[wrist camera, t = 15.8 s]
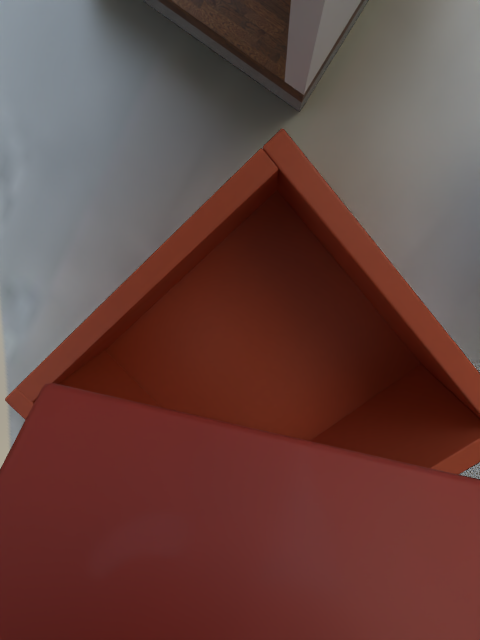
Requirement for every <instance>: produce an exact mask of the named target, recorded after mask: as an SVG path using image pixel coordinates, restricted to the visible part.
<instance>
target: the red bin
mask: <svg viewBox="0 0 480 640" xmlns="http://www.w3.org/2000/svg"><path fill="white" fill-rule="evenodd" d="M50 383H56V384H60V385H65V386H69V387H73V388H78V389H82V390H87V391H91V392H96V393H100V394H104V395H109V396H113V397H118V398H122V399H126V400H131V401H135V402H140V403H144V404H149V405H153V406H157V407H162V408H166V409H171V410H175V411H179V412H184V413H188V414H193V415H197V416H202V417H206V418H210V419H215V420H219V421H224V422H228V423H232V424H237V425H241V426H246V427H250V428H254V429H259V430H263V431H268V432H272V433H277V434H281V435H285V436H290V437H294V438H299V439H303V440H307V441H312V442H316V443H321V444H325V445H330V446H334V447H338V448H343V449H347V450H352V451H356V452H360V453H365V454H369V455H374V456H378V457H382V458H387V459H391V460H396V461H400V462H405V463H409V464H413V465H418V466H422V467H427V468H431V469H435V470H440V471H444V472H449V473H453V474H458V475H459V474H460V473H462V472H464V471H465V470H467V469H469V468H470V467H472V466H474V465H475V464H477V463H479V462H480V373H479V372H478V371H477V369H476V368H475V367H474V366H473V364H472V363H471V362H470V361H469V359H468V358H467V357H466V356H465V354H464V353H463V352H462V351H461V349H460V348H459V347H458V346H457V344H456V343H455V342H454V341H453V339H452V338H451V337H450V336H449V335H448V333H447V332H446V331H445V330H444V328H443V327H442V326H441V325H440V323H439V322H438V321H437V320H436V318H435V317H434V316H433V315H432V313H431V312H430V311H429V310H428V308H427V307H426V306H425V305H424V303H423V302H422V301H421V300H420V298H419V297H418V296H417V295H416V293H415V292H414V291H413V290H412V288H411V287H410V286H409V285H408V283H407V282H406V281H405V280H404V278H403V277H402V276H401V275H400V273H399V272H398V271H397V270H396V268H395V267H394V266H393V265H392V263H391V262H390V261H389V260H388V258H387V257H386V256H385V255H384V253H383V252H382V251H381V250H380V248H379V247H378V246H377V245H376V243H375V242H374V241H373V240H372V238H371V237H370V236H369V235H368V233H367V232H366V231H365V230H364V228H363V227H362V226H361V225H360V223H359V222H358V221H357V220H356V218H355V217H354V216H353V215H352V213H351V212H350V211H349V210H348V208H347V207H346V206H345V205H344V203H343V202H342V201H341V200H340V198H339V197H338V196H337V195H336V193H335V192H334V191H333V190H332V188H331V187H330V186H329V185H328V183H327V182H326V181H325V180H324V178H323V177H322V176H321V175H320V173H319V172H318V171H317V170H316V168H315V167H314V166H313V165H312V163H311V162H310V161H309V160H308V158H307V157H306V156H305V155H304V153H303V152H302V151H301V150H300V148H299V147H298V146H297V145H296V143H295V142H294V141H293V140H292V138H291V137H290V136H289V135H288V133H287V132H286V131H285V130H284V129H280V130H279V131H278V132H277V133H276V134H275V135H274V136H273V137H272V138H271V139H270V140H269V141H268V142H267V143H266V144H265V145H264V146H263V149H262V148H261V149H259V150H258V151H257V152H256V153H255V154H254V155H253V156H252V157H251V158H250V159H249V160H248V161H247V162H246V163H245V164H244V165H243V166H242V167H241V168H240V169H239V170H238V171H237V172H236V173H235V174H234V175H233V176H232V177H231V178H230V179H229V180H228V181H227V182H226V183H225V184H224V185H223V186H222V187H221V188H220V189H219V190H218V191H217V192H216V193H215V194H213V195H212V196H211V197H210V198H209V199H208V200H207V201H206V202H205V203H204V204H203V205H202V206H201V207H200V208H199V209H198V210H197V211H196V212H195V213H194V214H193V215H192V216H191V217H190V218H189V219H188V220H187V221H186V222H185V223H184V224H183V225H182V226H181V227H180V228H179V229H178V230H177V231H176V232H175V233H174V234H173V235H172V236H171V237H170V238H169V239H167V240H166V241H165V242H164V243H163V244H162V245H161V246H160V247H159V248H158V249H157V250H156V251H155V252H154V253H153V254H152V255H151V256H150V257H149V258H148V259H147V260H146V261H145V262H144V263H143V264H142V265H141V266H140V267H139V268H138V269H137V270H136V271H135V272H134V273H133V274H132V275H131V276H130V277H129V278H128V279H127V280H126V281H125V282H124V283H122V284H121V285H120V286H119V287H118V288H117V289H116V290H115V291H114V292H113V293H112V294H111V295H110V296H109V297H108V298H107V299H106V300H105V301H104V302H103V303H102V304H101V305H100V306H99V307H98V308H97V309H96V310H95V311H94V312H93V313H92V314H91V315H90V316H89V317H88V318H87V319H86V320H85V321H84V322H83V323H82V324H81V325H80V326H79V327H78V328H76V329H75V330H74V331H73V332H72V333H71V334H70V335H69V336H68V337H67V338H66V339H65V340H64V341H63V342H62V343H61V344H60V345H59V346H58V347H57V348H56V349H55V350H54V351H53V352H52V353H51V354H50V355H49V356H48V357H47V358H46V359H45V360H44V361H43V362H42V363H41V364H40V365H39V366H38V367H37V368H36V369H35V370H34V371H33V372H32V373H30V374H29V375H28V376H27V377H26V378H25V379H24V380H23V381H22V382H21V383H20V384H19V385H18V386H17V388H15V389H14V390H13V391H12V392H11V393H10V394H9V395H8V396H7V397H6V399H5V401H6V402H7V403H8V404H9V405H10V406H11V407H12V408H13V409H15V410H16V411H17V412H18V413H19V414H20V415H21V416H22V417H23V418H24V419H25V420H26V418H27V416H28V414H29V412H30V410H31V408H32V406H33V404H34V402H35V401H36V399H37V397H38V395H39V393H40V391H41V389H42V387H43V386H44V385H45V384H50Z"/></svg>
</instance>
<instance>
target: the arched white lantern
mask: <svg viewBox="0 0 480 640" xmlns="http://www.w3.org/2000/svg"><path fill="white" fill-rule="evenodd" d="M143 1H144V2H146V3H147V4H148V5H150V6H151V7H153V8H154V9H155V10H157V11H158V12H160V13H161V14H163V15H164V16H165V17H167V18H168V19H170V20H171V21H172V22H174V23H175V24H177V25H178V26H179V27H181V28H182V29H184V30H185V31H186V32H188V33H189V34H191V35H192V36H194V37H195V38H196V39H198V40H199V41H201V42H202V43H203V44H205V45H206V46H208V47H209V48H210V49H212V50H213V51H215V52H216V53H218V54H219V55H220V56H222V57H223V58H225V59H226V60H227V61H229V62H230V63H232V64H233V65H234V66H236V67H237V68H239V69H240V70H242V71H243V72H244V73H246V74H247V75H249V76H250V77H251V78H253V79H254V80H256V81H257V82H258V83H260V84H261V85H263V86H264V87H265V88H267V89H268V90H270V91H271V92H273V93H274V94H275V95H277V96H278V97H280V98H281V99H282V100H284V101H285V102H287V103H288V104H289V105H291V106H292V107H294V108H295V109H297V110H298V111H299V112H300V111H301V109H302V107H303V106H304V104H305V102H306V101H307V99H308V98H309V96H310V94H311V93H312V91H313V89H314V88H315V86H316V85H317V83H318V81H319V80H320V78H321V76H322V75H323V73H324V72H325V70H326V68H327V67H328V65H329V64H330V62H331V60H332V59H333V57H334V55H335V54H336V52H337V51H338V49H339V47H340V46H341V44H342V42H343V41H344V39H345V38H346V36H347V34H348V33H349V31H350V29H351V28H352V26H353V25H354V23H355V21H356V20H357V18H358V17H359V15H360V13H361V12H362V10H363V8H364V7H365V5H366V4H367V2H368V0H143Z"/></svg>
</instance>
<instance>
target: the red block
mask: <svg viewBox="0 0 480 640" xmlns="http://www.w3.org/2000/svg"><path fill="white" fill-rule="evenodd" d="M0 640H480V479H475V478H471V477H466V476H462V475H458V474H453V473H449V472H444V471H440V470H435V469H431V468H427V467H422V466H418V465H413V464H409V463H405V462H400V461H396V460H391V459H387V458H382V457H378V456H374V455H369V454H365V453H360V452H356V451H352V450H347V449H343V448H338V447H334V446H330V445H325V444H321V443H316V442H312V441H307V440H303V439H299V438H294V437H290V436H285V435H281V434H277V433H272V432H268V431H263V430H259V429H254V428H250V427H246V426H241V425H237V424H232V423H228V422H224V421H219V420H215V419H210V418H206V417H202V416H197V415H193V414H188V413H184V412H179V411H175V410H171V409H166V408H162V407H157V406H153V405H149V404H144V403H140V402H135V401H131V400H126V399H122V398H118V397H113V396H109V395H104V394H100V393H96V392H91V391H87V390H82V389H78V388H73V387H69V386H65V385H60V384H56V383H50V384H45V385H44V386H43V387H42V389H41V391H40V393H39V395H38V397H37V399H36V401H35V402H34V404H33V406H32V408H31V410H30V412H29V414H28V416H27V418H26V420H25V422H24V424H23V426H22V428H21V430H20V432H19V434H18V436H17V438H16V440H15V442H14V444H13V446H12V448H11V449H10V451H9V453H8V455H7V457H6V459H5V461H4V463H3V465H2V467H1V469H0Z"/></svg>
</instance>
